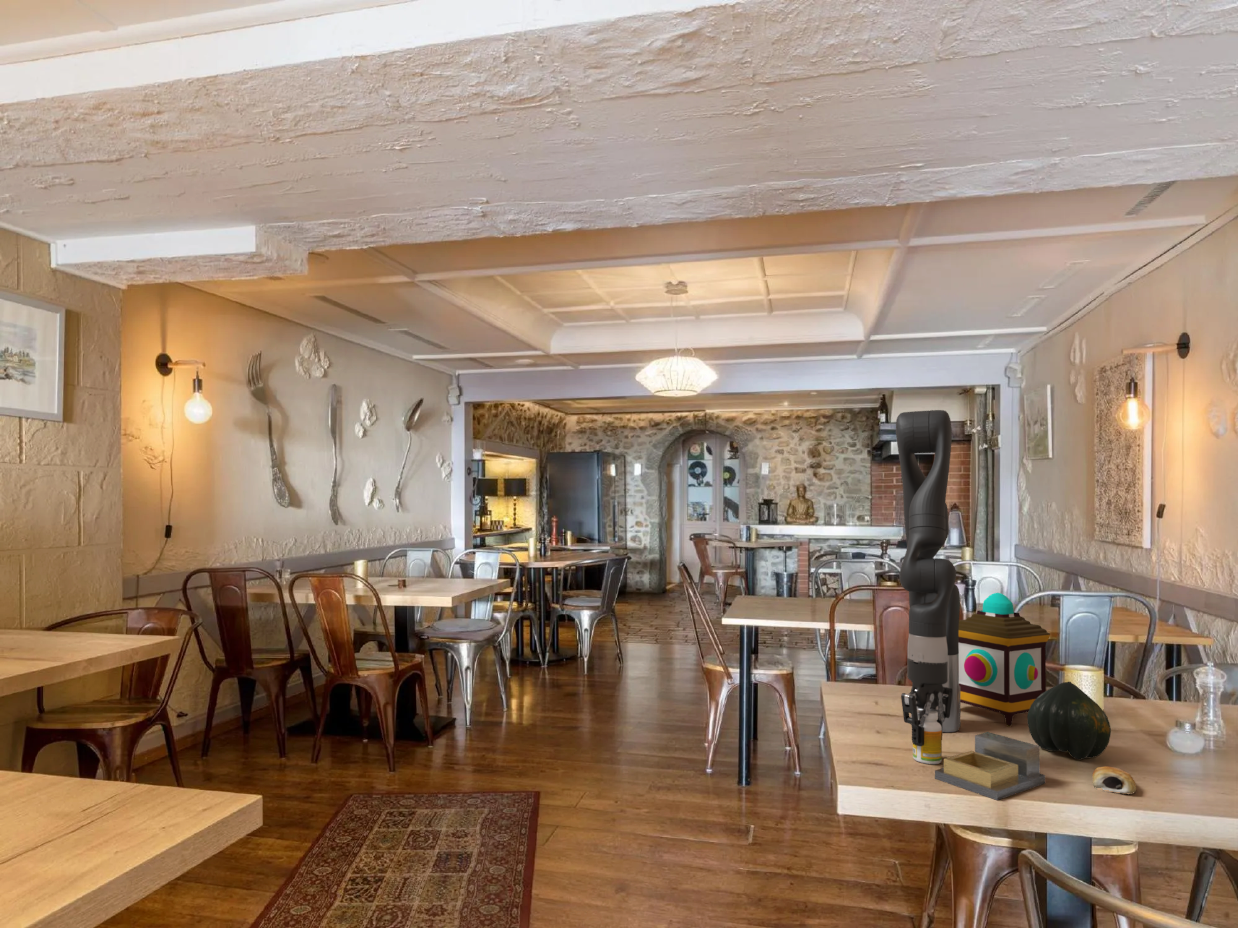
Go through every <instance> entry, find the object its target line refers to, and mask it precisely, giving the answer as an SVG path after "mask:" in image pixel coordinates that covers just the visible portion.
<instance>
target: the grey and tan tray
mask: <svg viewBox="0 0 1238 928" xmlns="http://www.w3.org/2000/svg"><path fill="white" fill-rule="evenodd" d="M1040 748H1041V747H1040V746H1039V745H1037V744H1034V743H1031V742H1030V743H1029V742H1026V741H1023V740H1018V739H1015V738H1012V737H1008V736H1005V735H1000V734H997V733H993V732H989V731H987V732H982V733H979V734H978V733H977V734H975V735H974V751H973V750H968V751H965V752H962V753H959V754H954V755H953V756H949V757H944V758H943V767H941V768H938V769H935V770H934V779H935V780H938V781H941V782H944V783H946V782H947V784H950V785H951V786H956V787H957V788H958V787H959V788H960V789H963V788H964V790H966V791H970V792H973V793H975V794H978V793H979V794H978V795H981V796H984V797H986V798H990V799H993V800H996V801H999V800H1002V798H1003V799H1005V798H1008V797H1010V795H1011V796H1015V795H1016V794H1015V793H1017V794H1019V793H1021V792H1025V791H1027V790H1030V788H1031V789H1033V788H1035V787H1039V786H1041V785H1045V784H1046V775H1045V774H1043V773H1041V771H1040V767H1041V765H1040V762H1041V761H1040V760H1041V758H1040V754H1041V753H1040V751H1041V750H1040Z"/></svg>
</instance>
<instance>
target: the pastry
mask: <svg viewBox="0 0 1238 928" xmlns="http://www.w3.org/2000/svg"><path fill="white" fill-rule="evenodd" d="M1091 784H1092V786H1093V787H1094V788H1095V787H1096V788H1102V789H1103V790H1109V791H1113V792H1120V793H1133V792H1135V793H1136V790H1137V785H1136V781H1135V779H1134V777H1132V775H1131V774H1130V773H1129V772H1126V771H1125V770H1122V769H1121V768H1119V767H1112V766H1107V765H1106V766H1098V767H1096V768H1095V769H1094V770H1093V771H1092V783H1091ZM1133 794H1134V793H1133Z"/></svg>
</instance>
